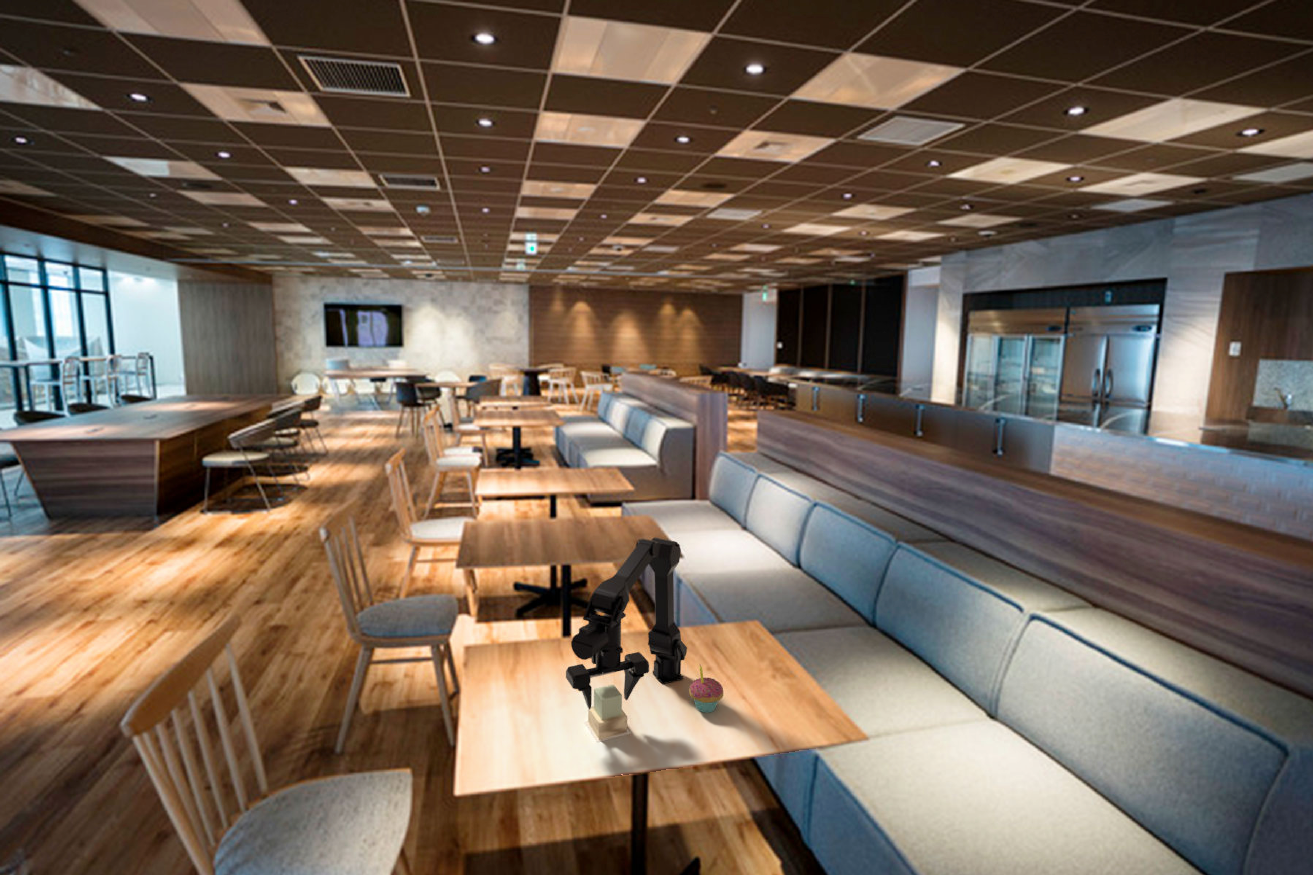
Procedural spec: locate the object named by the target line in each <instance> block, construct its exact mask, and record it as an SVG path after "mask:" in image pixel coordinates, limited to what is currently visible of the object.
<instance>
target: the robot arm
mask: <svg viewBox="0 0 1313 875" xmlns="http://www.w3.org/2000/svg"><path fill="white" fill-rule="evenodd" d="M681 552H682V550H681V545H680V543H678V542H677V541H675V540H670V539H665V538H661V537H656V536H655V537H653V538H652V539H647V538H641V539H640V538H639V539H638V540H637V541H636V544H635V548H634V549H633V550H632V551H631V553H630V554H629V556H628V557H627V558H626V559H625V560H624V562H623V563H622V565H621V566H620V568H618V570H617V571H616V573H615V574H614V575H613V576H612V577H610V578H608V579H606V580H603V581H601V583H600V584H599V585H597V587H596V588H595V589H594V591H592V594H591V596H590V599H589V601H588V603H587V607H586V610H585V612H584V615H583V617H582V620H583V621H586V622H588V623H587V624H586V625H583V626H581V627H580V628H578V633H576V634H575V635H574V636H573V637H572V639H571V641H570V644H571V645H570V646H571V650H572V652H573V654H574V655H575V656H576V657H577V658H578V659H581V660H585V661H587V660H589V659H591V663H592V665H595V667H590V668H586V667H585V665H584V664H583V663H580V664H574V665H571V666H568V667H567V668H566V671H565V679H566V680H567V681H568V683H569V684H570V686H571V688H572V689H574V690H578V691H579V692H581V694H582V696H583V699H584V701H585V704H586V706H587V708H589V709H591V707H592V694H593V693H592V690H593V689H592V685H591V679H592V678H596V677H601V676H606V675H609V674H613V673H616V672H618V673H619V672H621V671H624V682H623V683H624V687H623V698H624V701H628V700H629V698H630V696H631V695H632V692H633V690H634V689H635V687H636V685H637V684H638V682H639V681H640V679H642V678H644V676H645V674H648V673H649V672H650V663H649V661H648V660H647V658H646V657H645V656H644V655H643V654H642V653H641V652H640V651H637V652H636V651H635V652H632V653H627V654H625V655H624V660H623V661H622V659H621V655H622V653H624V648H623V647H622V646H621V645H622V643H621V642H622V620H623V619H625V617H626V616H627V614H626V613H625V610H626V608H627V606H628V604H629V602H630V592H631V591H632V588H633V587H634V585H635V584H636V582H637V581H638V580H639V579H640V577H641V576H642V574H643V573H644V571H645V570H646V568H647V567H648V566H649V567H650V568H651V570H652V571H653V572H654V612H655V613H654V615H655V616H654V618H655V620H654V622H655V623H654V625H653V626H652V627H651V629H650V630H649V631H648V634H647V636H648V640H647V641H648V642H647V645H648V647H649V652H650V654H651V655H655V660H653V670H652V675H653V676H655V678H656V679H657V680H658V681H659V682H660V683H661V684H667V683H672V682H675V681H680V680H684V675H682V674H681V672H682V671H681V670H682V669H681V667H682V661H685V659H686V655H687V651H688V647H687V646H686V645H685V643H684V642H683V641H682V638H681V637H682V636H681V631H680V628H679V627H678V625H677V624H676V622H675V611H674V610H675V602H674V601H675V599H674V598H675V596H674V594H675V593H674V591H675V589H674V586H675V585H674V571H675V569H676V568H677V566H678V565H679V563H680V557H681V554H682V553H681ZM595 611H596V612H598V613H602V614H603V615H602V614H598V613H595Z"/></svg>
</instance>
